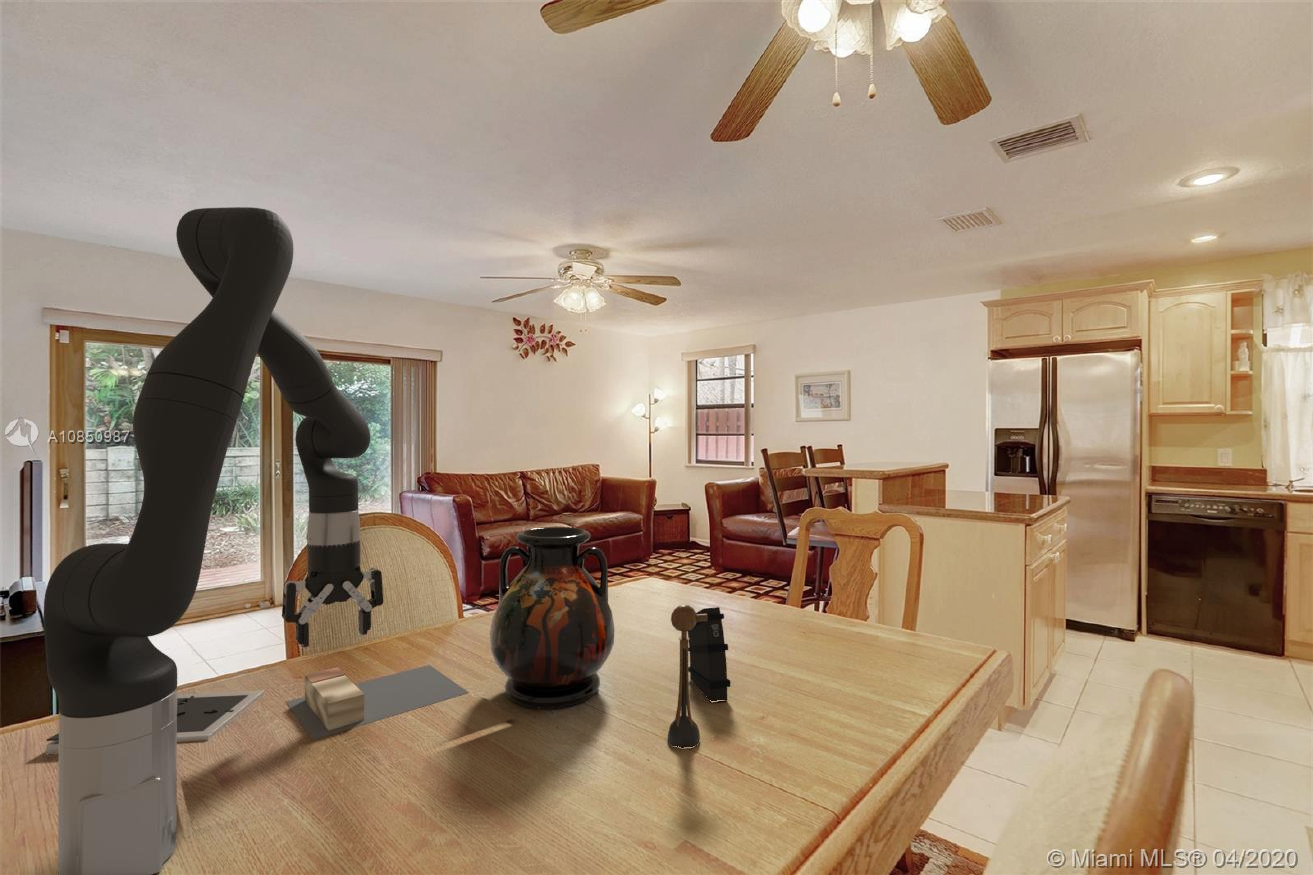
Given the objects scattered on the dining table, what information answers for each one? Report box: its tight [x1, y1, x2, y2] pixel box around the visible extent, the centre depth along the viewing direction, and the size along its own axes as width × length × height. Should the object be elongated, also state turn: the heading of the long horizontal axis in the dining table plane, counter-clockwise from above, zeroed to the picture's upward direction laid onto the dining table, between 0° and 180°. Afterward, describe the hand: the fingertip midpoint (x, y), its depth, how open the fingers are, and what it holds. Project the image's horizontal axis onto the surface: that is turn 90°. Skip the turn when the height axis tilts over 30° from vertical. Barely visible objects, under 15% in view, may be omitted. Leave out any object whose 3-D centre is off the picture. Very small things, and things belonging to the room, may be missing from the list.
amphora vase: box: [489, 526, 615, 710], centre depth 106 cm, size 22×22×28 cm
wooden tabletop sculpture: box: [667, 604, 708, 748], centre depth 89 cm, size 6×5×20 cm
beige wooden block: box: [304, 666, 364, 730], centre depth 97 cm, size 14×5×4 cm, turn 43°
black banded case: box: [687, 606, 731, 701], centre depth 107 cm, size 4×13×15 cm, turn 17°
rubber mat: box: [285, 664, 470, 741], centre depth 101 cm, size 17×24×1 cm
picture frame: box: [45, 690, 265, 756], centre depth 93 cm, size 16×3×21 cm
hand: (334, 639), depth 97 cm, fingers open, 8 cm apart
